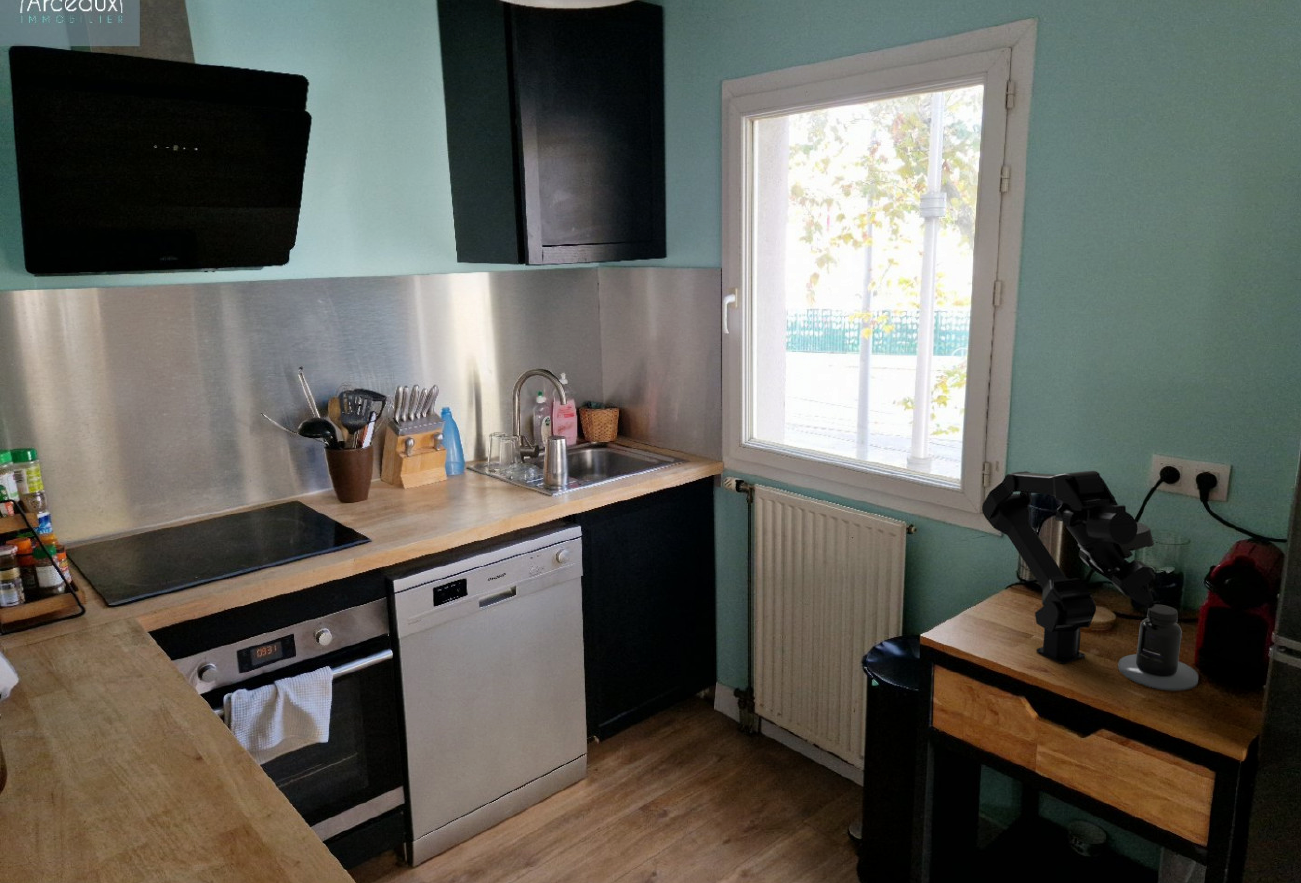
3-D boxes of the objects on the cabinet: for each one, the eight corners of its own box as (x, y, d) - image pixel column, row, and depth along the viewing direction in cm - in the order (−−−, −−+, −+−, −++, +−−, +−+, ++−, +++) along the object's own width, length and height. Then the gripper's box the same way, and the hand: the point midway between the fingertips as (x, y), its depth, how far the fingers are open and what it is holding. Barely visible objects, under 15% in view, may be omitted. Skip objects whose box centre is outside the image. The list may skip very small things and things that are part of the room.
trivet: (1167, 697, 158) (1167, 693, 158) (1102, 667, 170) (1103, 663, 169) (1214, 680, 163) (1214, 676, 163) (1148, 652, 175) (1148, 648, 175)
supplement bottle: (1140, 675, 164) (1146, 615, 162) (1131, 659, 171) (1137, 600, 168) (1182, 679, 162) (1188, 618, 160) (1171, 662, 169) (1177, 603, 166)
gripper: (1155, 524, 155) (1205, 590, 157) (1107, 495, 174) (1152, 555, 176) (1100, 561, 157) (1150, 627, 159) (1058, 530, 176) (1103, 588, 177)
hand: (1139, 597), depth 168 cm, fingers open, 9 cm apart
